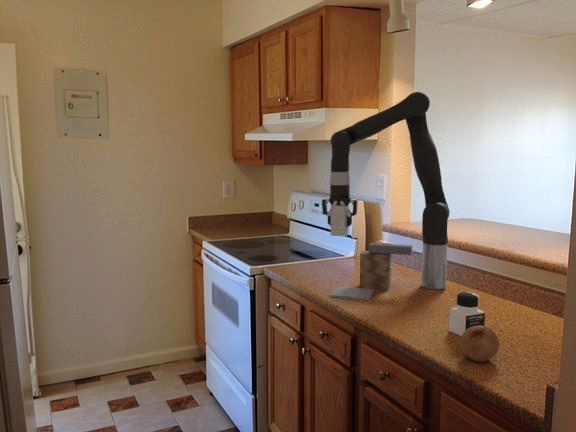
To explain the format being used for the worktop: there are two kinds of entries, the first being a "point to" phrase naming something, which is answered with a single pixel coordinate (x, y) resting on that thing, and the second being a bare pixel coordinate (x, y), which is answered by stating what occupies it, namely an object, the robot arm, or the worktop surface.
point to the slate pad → (352, 293)
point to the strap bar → (390, 249)
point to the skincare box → (339, 221)
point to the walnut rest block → (375, 270)
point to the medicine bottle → (465, 313)
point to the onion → (479, 343)
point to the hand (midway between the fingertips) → (339, 225)
